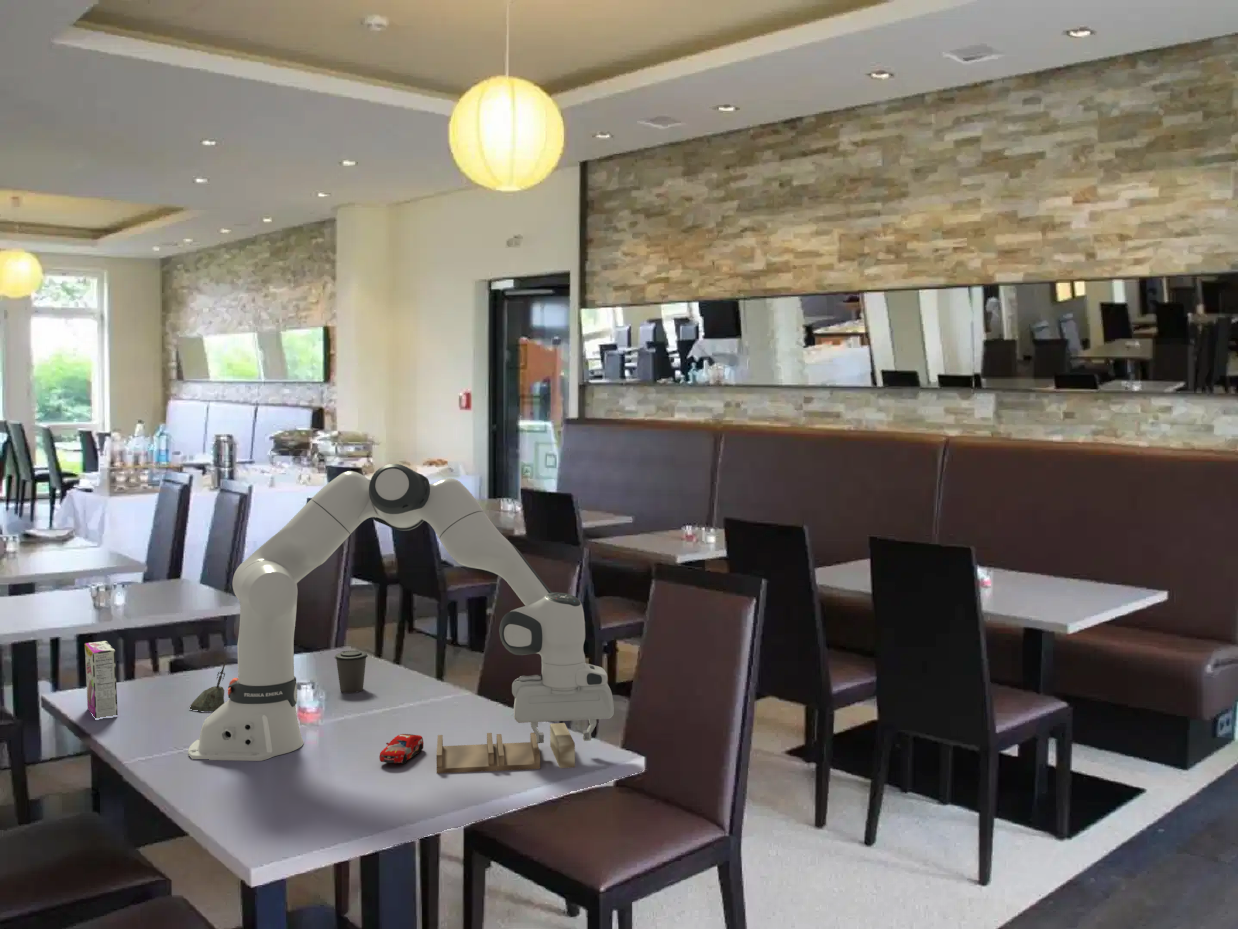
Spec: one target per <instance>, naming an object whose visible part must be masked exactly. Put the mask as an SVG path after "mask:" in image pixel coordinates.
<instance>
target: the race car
mask: <svg viewBox="0 0 1238 929" xmlns="http://www.w3.org/2000/svg"><path fill="white" fill-rule="evenodd" d="M385 744H386V745H387V746H385V747H384V748H383V750H381V751H380V752H379V761H380V763H385V764H386V763H387V764H401V765H405V764H406V763H407V761H408V760H411V758H413V757H414V756H416V755H417V754H421V753H422V750H424V738H423V736H422V735H419V734H412V733H400V734H398V735H396V736H395V737H394V738H392V739H391V740H390V742H385Z"/></svg>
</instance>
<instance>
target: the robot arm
mask: <svg viewBox="0 0 1238 929" xmlns="http://www.w3.org/2000/svg"><path fill="white" fill-rule="evenodd" d="M369 518H372V519H373V521H374V522H377V523H380V524H382V525H385V526H387V527H389V528H391V529H394V530H398V531H405V532H406V531H411V530H414V529H417V528H418V527H419V526H421V524H423V522H426V523H427V524H429V525H430V526H431V528H432V529H433V531H434V532H435V534H436V535H437V538H438V540H440V541H439V542H441V544H442V545H443V547H444V549H445V551H446V552H447V554H448V555H449V556H450V557H451V558H452V559H453V560H454V561H455V562H456V563H457V564H459V565H461V566H464V567H465V568H471V569H478V570H483V571H487V572H490V573H493V574H495V575H496V576H499V577H501V579H503V580H504V581H505V582H507V584H508V585H509V586H510V587H511V589H512V590H513V592H514V593H515V594H516V596H517V597H518V598H519V599H520V602H522V603H523V604H524V606H521V607H518V608H515V609H512V610H510V611H508V612H507V613H505V614H504V616H502V618H501V621H500V623H499V628H498V632H499V637H500V642H501V643H502V645H503V646H504V648H505V649H506V650H507V651H508V652H509V653H511V654H513V655H515V656H526V655H533V654H534V655H535V654H537V655H540V657H541V674H533V675H519V677H517V678H516V679H514V680H513V682H512V684H511V694H512V696H513V698H514V704H513V718H514V720H515V721H516V722H517V724H524V723H527V724H528V723H530V728H531V730H532V731H533V733H535V734H536V743H538V744H544V743H545V742H544V741H545V740H544V739H545V734H544V732H541V731H539V730H538V727H539V723H544V722H545V723H548V722H565V721H566V722H567V721H568V722H569V721H570V722H571V721H586V720H587V721H588V723H589V725H588V727H587V729H586V730H582V734H583V735H582V740H583V741H584V742H591V741H592V733H593V732H594V730H595V727H596V726H597V720H609V719H611V718H612V717H613V716H614V714H615V713H614V712H615V708H614V707H615V706H614V698H613V693H612V690H611V688H610V686H609V684H608V673H607V672H606V670H605V669H604V667H601V666H600V665H599V666H598V665H594V664H591V663H586V654H585V652H584V644H585V640H586V621H585V612H584V608H583V604H582V602H581V600H580V599H579V598H578V597H577V596H574V595H573V594H570V593H564V592H553V591H552V590H551V589H550V588H549V587H548V586H547V584H546V583H545V582H544V580H543V579H542V578H541V577H540V576H539V574H538V573H537V572H536V570H535V569H534V568H533V566H532V565H531V564H530V562H528V560H527V559H526V557H525V556H524V554H522V552H521V551H520V550H519V549H518V548H517V547H516V546H515V545H514V544H513V543H512V542H511V541H510V540H508V539H507V538H506V537H505V536H504V535H503V534H502V533H501V531H499V529H498V528H497V527H496V526H495V525H494V523H493V522H492V521H491V520H490V518H489V516H488V515H487V514H486V512H485V510H484V509H483V508H482V505H481V504H480V503H479V502H478V500H477V499H476V497H475V496H474V495H473V494H472V493H471V492H470V490H469V489H468V488H467V487H466V486H465V485H464V484H463V483H462V482H461V481H459V480H458V479H455V478H451V477H450V478H442V479H440V480H437V481H435V482H434V483H430V481H429V479H428V478H427V476H424V475H422V474H420V473H419V472H417V471H415V470H413V469H411V468H410V467H407V466H406V465H402V464H399V463H390V464H385V465H383V466H381V467H379V468H378V469H377V470H376V471H375V472H374V473H373V475H372V476H371V479H368V477H367V476H365V475H363V473H360V472H357V471H353V470H347V471H344V472H342V473H340V474H338V476H336V477H334V478H333V479H331V481H329V482H328V483H327V484H325V485H324V486H323V487H322V488H321V489H320V490H319V491H317V493H316V494H314V495H313V496H312V498H311V499H310V500H309V501H307V503H306V504H305V505H304V506H303V507H302V508H301V509H300V510H299V511H298V512H297V513H296V514H295V515H294V516H293V517H292V518H291V519H290V520H289V521H288V522H287V523H286V524H285V525H284V526H283V527H282V528H281V529H279V531H278V532H277V533H275V534H274V535H273V536H271V537H270V538H269V539H268V540H267V541H266V542H264V543H263V544H262V545H260V547H258V548H257V549H256V550H255V551H254V552H253V553H252V554H250V555H249V557H247V558H246V559H245V560H244V561H242V563H240V564H239V565H238V567H237V568H236V570H235V572H234V574H233V577H232V583H231V584H232V589H233V593H234V595H235V596H236V598H237V599H238V601H239V608H240V609H239V610H240V612H239V628H238V640H237V646H236V647H237V677H233V678H232V679H231V680H230V681H229V683H228V687H227V695H228V698H229V699H227V701H224V704H223V705H221V706H220V707H219V708H218V709H217V710H215V711H214V712H211V714H209V715H208V716H207V717H206V718H205V719H204V721H203V723H202V726H201V729H200V733H199V738H198V739H195V741H193V742H192V743H191V744H190V746H189V747H188V750H187V755H188V754H189V756H190V757H191V758H192V759H191V760H193V759H209V760H208V761H236V762H237V761H239V762H241V761H242V762H245V761H246V762H249V761H250V762H256V761H257V762H262V761H266V760H268V759H271V758H273V757H276V756H280V755H281V756H282V755H284V754H288V753H291V752H294V751H296V750H299V749H300V748H301V747H302V746H303V745H304V739H303V737H302V736H303V735H302V733H301V729H300V725H299V719H298V712H297V706H296V705H297V702H298V683H297V677H296V676H295V664H294V662H295V660H294V658H295V657H294V654H295V653H294V648H295V647H294V646H295V645H294V644H295V643H294V640H295V629H296V628H295V627H296V621H297V605H298V592H299V591H298V583H299V582H300V581H301V580H302V579H304V578H305V577H306V576H307V575H308V574H310V573H311V572H312V571H313V570H315V569H316V568H317V567H319V566H321V565H323V564H324V563H325V562H327V560H329V558H330V557H331V556H332V555H333V554H334V553H335V551H336V550H338V548H340V546H341V545H342V544H343V543H344V542H345V541H346V540H347V539H348V538H349V537H350V535H351V534H352V533H353V532H355V530H356V529H357V528H358V527H359V526H360V525H361V524H362V523H363V522H364V521H366V520H367V519H369Z"/></svg>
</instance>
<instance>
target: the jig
mask: <svg viewBox="0 0 1238 929" xmlns="http://www.w3.org/2000/svg"><path fill="white" fill-rule="evenodd" d="M529 734H530V737H529V740H530V741H525V742H508V743H507V742H505V743H504V742H503V738H502V737H503V736H502V734H501V733H497V734H496V743H494V742H493V733H492V732H486V743H484V744H483V743H481V744H461V745H459V744H458V745H444V738H443V737H444V735H443V734H438V735H437V743H436V758H435V759H436V774H449V773H451V774H453V773H456V774H457V773H476V772H477V773H479V772H499V771H500V772H501V771H502V772H503V771H522V770H524V771H525V770H527V771H528V770H540V769H541V753H540V748H539V743H536V734H535V733H534V732H530V733H529Z"/></svg>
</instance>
